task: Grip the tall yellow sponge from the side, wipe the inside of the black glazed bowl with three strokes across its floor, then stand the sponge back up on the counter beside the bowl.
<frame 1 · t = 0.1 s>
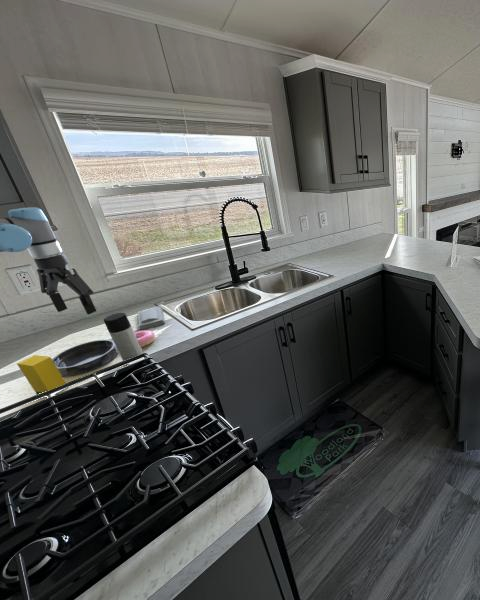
hand: (77, 311, 119), 22 cm above the countertop, tool pointing down, fingers open, 13 cm apart
bowl: (88, 361, 129), on the countertop
soap mold: (151, 319, 161), on the countertop
spray can: (135, 361, 128), on the countertop
doughnut: (141, 343, 140), on the countertop
sponge: (53, 390, 114), on the countertop
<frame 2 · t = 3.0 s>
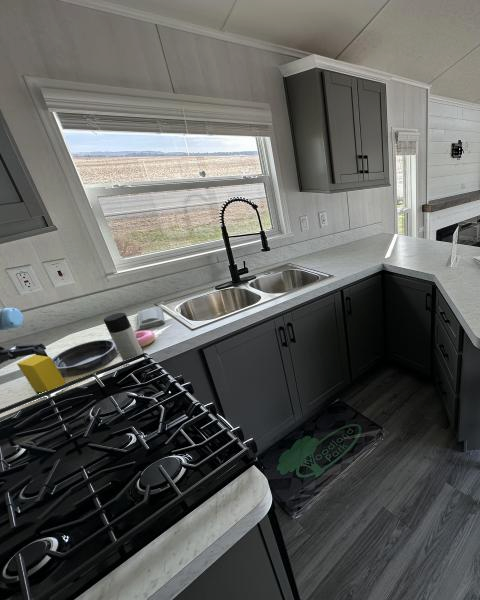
hand: (22, 368, 111), 9 cm above the countertop, tool horizontal, fingers open, 13 cm apart
nothing on the countertop moved.
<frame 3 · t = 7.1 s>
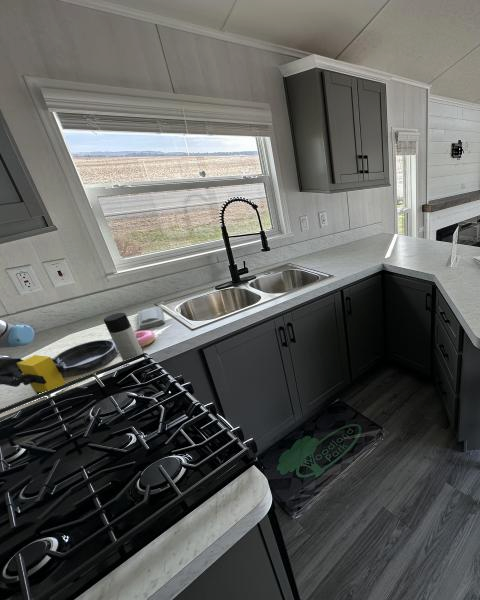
hand: (53, 374, 109), 8 cm above the countertop, tool horizontal, fingers closed on sponge, 5 cm apart
sponge: (53, 390, 114), on the countertop, touching gripper
everything else where it was.
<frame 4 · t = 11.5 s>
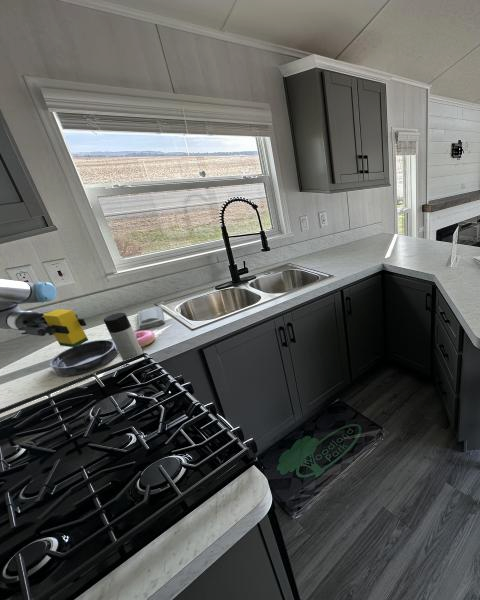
hand: (75, 326, 119), 17 cm above the countertop, tool horizontal, fingers closed on sponge, 5 cm apart
sponge: (74, 342, 124), point 10 cm above the countertop, touching gripper
everything else where it was.
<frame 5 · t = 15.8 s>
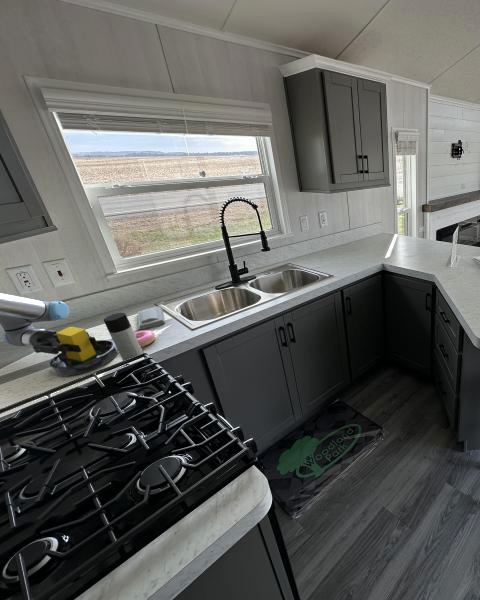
hand: (87, 344, 125), 8 cm above the countertop, tool horizontal, fingers closed on sponge, 5 cm apart
sponge: (83, 358, 129), point 1 cm above the countertop, tilted 5°, touching gripper
everything else where it was.
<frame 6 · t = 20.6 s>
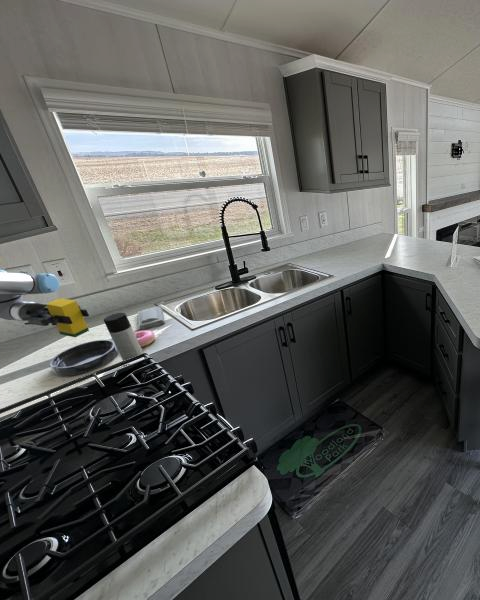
hand: (78, 316, 120), 20 cm above the countertop, tool horizontal, fingers closed on sponge, 5 cm apart
sponge: (75, 332, 125), point 13 cm above the countertop, tilted 5°, touching gripper
everything else where it was.
when the fingers open (8 cm above the countertop, at t = 24.8 s): sponge stays where it is, on the countertop.
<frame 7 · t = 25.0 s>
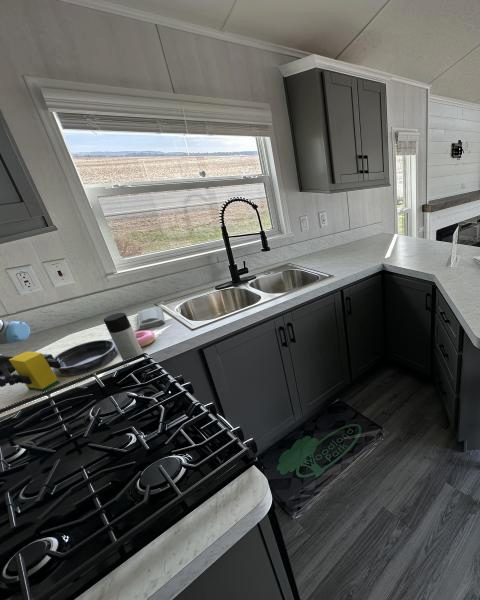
hand: (44, 372, 111), 7 cm above the countertop, tool horizontal, fingers open, 8 cm apart
sponge: (44, 386, 116), on the countertop
everything else where it was.
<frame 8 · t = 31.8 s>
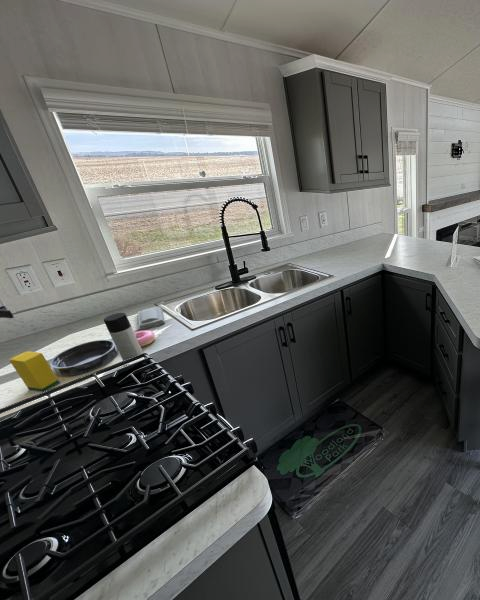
nothing on the countertop moved.
at the end: sponge inside the target area (1.1 cm from its centre), on the countertop; sponge tilted 0°; bowl moved 0.0 cm from its start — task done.
